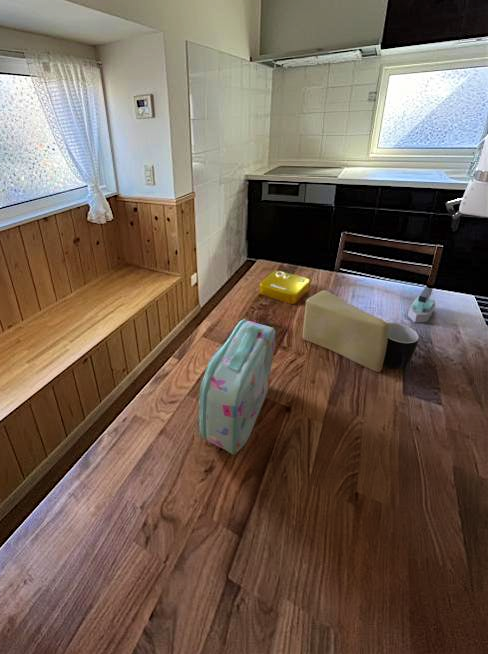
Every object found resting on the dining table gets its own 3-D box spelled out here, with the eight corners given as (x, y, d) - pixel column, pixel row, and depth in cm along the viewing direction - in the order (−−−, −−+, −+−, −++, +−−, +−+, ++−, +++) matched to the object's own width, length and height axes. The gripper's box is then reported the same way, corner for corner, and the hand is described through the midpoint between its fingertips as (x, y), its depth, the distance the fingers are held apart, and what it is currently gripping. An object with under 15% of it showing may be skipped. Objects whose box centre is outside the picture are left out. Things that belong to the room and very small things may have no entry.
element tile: (257, 293, 131) (257, 282, 129) (275, 278, 141) (275, 268, 139) (294, 305, 122) (295, 294, 120) (310, 288, 132) (311, 277, 130)
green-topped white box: (414, 305, 118) (420, 284, 114) (433, 310, 114) (439, 289, 111) (404, 319, 111) (410, 297, 107) (424, 326, 107) (431, 303, 104)
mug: (370, 349, 99) (376, 320, 95) (404, 352, 97) (411, 323, 93) (381, 379, 88) (388, 348, 84) (419, 383, 86) (429, 352, 82)
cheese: (389, 364, 93) (400, 319, 87) (370, 380, 88) (381, 334, 82) (319, 327, 110) (324, 287, 104) (300, 339, 105) (304, 298, 99)
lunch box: (238, 368, 95) (239, 303, 86) (274, 379, 90) (279, 313, 81) (195, 447, 74) (190, 372, 65) (239, 467, 69) (241, 390, 60)
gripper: (535, 177, 91) (513, 236, 98) (456, 171, 103) (442, 224, 110) (533, 182, 87) (510, 243, 94) (451, 176, 98) (436, 231, 105)
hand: (473, 233), depth 102 cm, fingers open, 9 cm apart
